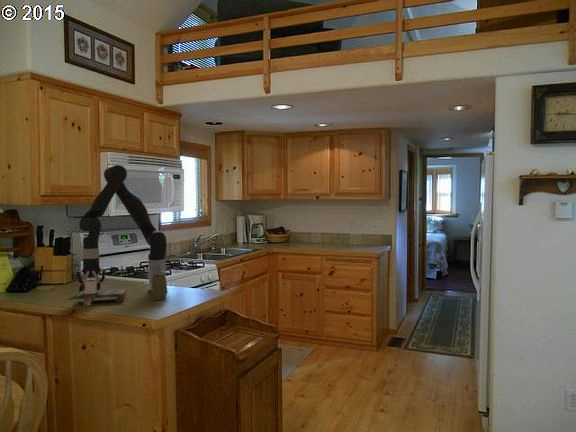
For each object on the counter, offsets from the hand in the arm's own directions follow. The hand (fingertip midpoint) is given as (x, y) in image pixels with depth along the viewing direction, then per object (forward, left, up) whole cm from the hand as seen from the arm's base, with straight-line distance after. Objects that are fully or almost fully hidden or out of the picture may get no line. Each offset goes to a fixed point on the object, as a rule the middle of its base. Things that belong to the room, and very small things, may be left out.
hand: (92, 290), depth 219 cm
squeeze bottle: (-33, +4, -6) cm, 34 cm away
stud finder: (0, 0, -1) cm, 1 cm away
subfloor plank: (-5, 0, -6) cm, 8 cm away
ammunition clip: (+5, -22, -6) cm, 24 cm away
